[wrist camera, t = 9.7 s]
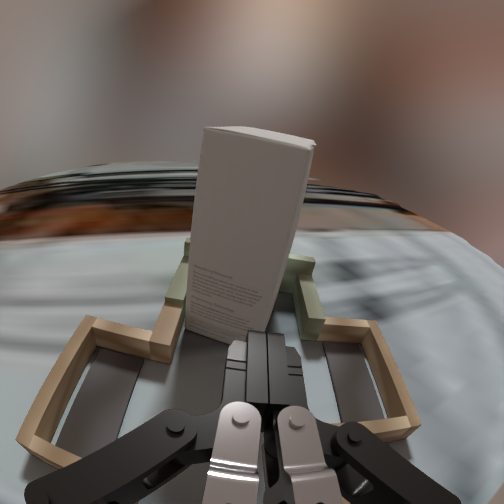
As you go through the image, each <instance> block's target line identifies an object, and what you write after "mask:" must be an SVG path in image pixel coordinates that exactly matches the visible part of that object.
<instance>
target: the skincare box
mask: <svg viewBox="0 0 504 504" xmlns="http://www.w3.org/2000/svg"><path fill="white" fill-rule="evenodd" d="M314 146H316V144H315V142H314V141H313V140H310V139H305V138H302V137H297V136H292V135H288V134H283V133H278V132H273V131H268V130H263V129H257V128H251V127H241V126H239V127H205V128H204V134H203V141H202V148H201V154H200V161H199V168H198V176H197V184H196V192H195V200H194V209H193V218H192V228H191V238H190V250H189V262H188V275H187V290H186V308H185V329H187V330H189V331H192V332H195V333H197V334H200V335H203V336H206V337H209V338H212V339H215V340H218V341H221V342H224V343H227V344H230V345H231V344H232V343H233V341H234V340H236V341H244V342H245V340H246V336H247V332H248V330H254V331H262V332H265V329H266V327H267V324H268V321H269V319H270V316H271V313H272V310H273V307H274V304H275V301H276V298H277V294H278V291H279V288H280V284H281V281H282V278H283V274H284V271H285V267H286V264H287V260H288V257H289V253H290V250H291V246H292V243H293V239H294V235H295V232H296V228H297V224H298V220H299V216H300V212H301V208H302V204H303V200H304V195H305V191H306V186H307V181H308V176H309V172H310V167H311V162H312V157H313V152H314Z"/></svg>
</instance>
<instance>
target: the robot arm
mask: <svg viewBox="0 0 504 504" xmlns="http://www.w3.org/2000/svg"><path fill="white" fill-rule="evenodd" d="M260 432H264V442H263V444H262V447H261V451H262V461H263V472H264V482H265V492H264V497H263V504H343V501H342V497H343V498H344V499H346V500H347V501H348V502H349V503H350V504H461V501H460V499H459V498H458V497H457V496H455V495H454V494H452V493H451V492H449V491H448V490H447V489H445V488H444V487H442V486H441V485H439V484H438V483H437V482H435V481H434V480H433V479H431V478H430V477H428V476H427V475H426V474H424V473H423V472H422V471H420V470H419V469H418V468H416V467H415V466H414V465H412V464H411V463H410V462H409V461H407V460H406V459H405V458H403V457H402V456H401V455H400V454H398V453H397V452H396V451H394V450H393V449H392V448H391V447H389V446H388V445H387V444H386V443H384V442H383V441H382V440H381V439H380V438H378V437H377V436H376V435H375V434H373V433H372V432H371V431H370V430H369V429H367V428H366V427H365V426H364V425H362V424H360V423H358V422H346V423H344V424H342V425H341V426H336V425H332V424H328V423H325V422H322V421H320V420H318V419H316V418H315V417H314V415H313V414H312V413H311V412H310V411H309V409H308V405H307V399H306V391H305V384H304V378H303V371H302V364H301V357H300V355H299V354H298V352H297V351H296V349H295V348H294V347H287V346H285V337H284V334H279V333H270V332H262V331H254V330H248V332H247V336H246V340H245V342H244V341H236V340H234V341H233V343H232V344H231V345H230V347H229V348H228V353H227V359H226V365H225V370H224V379H223V389H222V397H221V405H220V406H219V408H218V409H216V410H215V411H213V412H211V413H209V414H204V415H196V416H192V415H190V414H189V413H187V412H186V411H183V410H180V409H169V410H165V411H163V412H161V413H160V414H158V415H157V416H155V417H154V418H152V419H150V420H149V421H147V422H146V423H144V424H142V425H141V426H139V427H137V428H136V429H134V430H132V431H131V432H129V433H127V434H125V435H124V436H122V437H120V438H119V439H117V440H115V441H113V442H112V443H110V444H108V445H106V446H104V447H102V448H101V449H99V450H97V451H95V452H93V453H91V454H89V455H87V456H86V457H84V458H82V459H80V460H78V461H76V462H74V463H72V464H70V465H68V466H66V467H63V468H61V469H59V470H57V471H55V472H53V473H51V474H48V475H46V476H44V477H42V478H39V479H37V480H35V481H32V482H30V483H29V484H28V485H27V486H26V488H25V492H24V497H25V501H26V504H134V503H136V502H137V501H139V500H141V499H142V498H144V497H146V496H147V495H149V494H150V493H152V492H153V491H155V490H156V489H158V488H159V487H161V486H162V485H164V484H165V483H167V482H168V481H170V480H171V479H173V478H174V477H175V476H177V475H178V474H180V473H181V472H182V471H184V470H185V469H186V468H188V467H189V466H190V465H192V464H197V463H204V462H210V466H209V471H208V476H207V481H206V486H205V491H204V496H203V501H202V504H257V495H258V485H259V474H258V472H257V461H258V451H259V440H260Z"/></svg>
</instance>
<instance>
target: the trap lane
mask: <svg viewBox="0 0 504 504" xmlns="http://www.w3.org/2000/svg"><path fill="white" fill-rule="evenodd" d="M189 250H190V238H187V239H186V241H185V247H184V256H183V259H182V261H181V263H180V265H179V267H178V269H177V271H176V274H175V276H174V278H173V280H172V282H171V285H170V287H169V289H168V291H167V294H166V296H165V303H164V306H163V308H162V310H161V313H160V315H159V318H158V320H157V322H156V325H155V327H154V330H153V331H149V330H145V329H140V328H136V327H131V326H127V325H123V324H119V323H115V322H111V321H107V320H103V319H100V318H96V317H92V316H89V315H86V316H85V318H84V319H83V320H82V322H81V323H80V325H79V326H78V328H77V329H76V331H75V332H74V334H73V336H72V337H71V339H70V340H69V342H68V343H67V345H66V347H65V348H64V350H63V351H62V353H61V355H60V356H59V358H58V360H57V361H56V363H55V365H54V366H53V368H52V370H51V371H50V373H49V375H48V377H47V378H46V380H45V382H44V384H43V385H42V387H41V389H40V391H39V393H38V395H37V397H36V398H35V400H34V402H33V404H32V406H31V408H30V410H29V412H28V414H27V416H26V418H25V420H24V422H23V424H22V427H21V429H20V431H19V433H18V435H17V437H16V441H17V442H18V443H19V444H20V445H21V446H22V447H24V448H25V449H26V450H27V451H28V452H29V453H30V454H32V455H34V456H35V457H37V458H39V459H41V460H43V461H44V462H46V463H48V464H50V465H52V466H54V467H56V468H58V469H61V468H63V467H66V466H68V465H70V464H72V463H74V462H76V461H78V460H80V459H82V458H84V457H86V456H87V455H89V454H91V453H93V452H95V451H97V450H99V449H101V448H102V447H104V446H106V445H108V444H110V443H112V442H113V441H115V440H117V437H118V434H119V431H120V428H121V425H122V422H123V418H124V415H125V412H126V409H127V406H128V403H129V400H130V398H131V395H132V392H133V389H134V386H135V383H136V380H137V378H138V375H139V372H140V369H141V367H142V364H143V361H144V359H142V358H146V359H150V360H155V361H159V362H164V363H169V364H171V362H172V359H173V355H174V352H175V348H176V345H177V341H178V338H179V335H180V331H181V328H182V325H183V321H184V318H185V308H186V290H187V275H188V262H189ZM315 263H316V262H315V260H314V258H313V257H307V256H300V255H294V254H289V257H288V260H287V264H286V267H285V271H284V274H283V278H282V281H281V284H280V288H279V291H280V292H288V293H292V297H293V302H294V307H295V313H296V318H297V324H298V329H299V334H300V339H301V340H313V341H327V342H323V347H324V351H325V355H326V359H327V363H328V367H329V371H330V375H331V379H332V384H333V388H334V392H335V396H336V401H337V405H338V410H339V414H340V419H341V423H336V424H332V425H336V426H341V425H342V424H344V423H346V422H358V423H360V424H362V425H364V426H365V427H366V428H367V429H369V430H370V431H371V432H372V433H373V434H375V435H376V436H377V437H378V438H380V439H381V440H382V441H383V442H384V443H386V442H391V441H396V440H401V439H406V438H407V437H408V436H409V435H411V434H412V433H413V432H414V431H415V430H416V429H417V428H418V427H419V426H421V422H420V419H419V417H418V414H417V412H416V409H415V407H414V404H413V402H412V399H411V397H410V394H409V392H408V390H407V387H406V385H405V383H404V380H403V378H402V376H401V374H400V371H399V369H398V367H397V365H396V362H395V360H394V358H393V356H392V354H391V352H390V349H389V347H388V345H387V343H386V341H385V339H384V337H383V335H382V333H381V331H380V329H379V327H378V325H377V323H376V321H371V320H358V319H346V318H334V317H325V315H324V312H323V308H322V305H321V302H320V299H319V296H318V293H317V290H316V287H315V284H314V281H313V278H312V272H313V269H314V266H315ZM339 342H344V343H339ZM358 343H361V344H362V346H363V349H364V351H365V354H366V357H367V359H368V362H369V365H370V367H371V370H372V373H373V375H374V378H375V381H376V384H377V386H378V389H379V392H380V395H381V398H382V401H383V404H384V406H385V409H386V412H387V415H388V419H385V418H384V415H383V412H382V409H381V406H380V403H379V400H378V397H377V394H376V391H375V388H374V385H373V382H372V379H371V376H370V374H369V371H368V368H367V365H366V363H365V360H364V357H363V355H362V352H361V349H360V347H359V344H358ZM96 346H100V347H104V348H107V349H111V350H114V351H118V352H122V353H126V354H130V355H133V356H138V357H142V358H138V357H133V356H129V355H126V354H122V353H118V352H114V351H111V350H107V349H104V348H100V350H99V352H98V354H97V356H96V358H95V360H94V361H93V363H92V365H91V367H90V369H89V371H88V373H87V375H86V377H85V379H84V381H83V384H82V386H81V388H80V390H79V392H78V394H77V396H76V398H75V400H74V403H73V405H72V407H71V409H70V412H69V414H68V416H67V418H66V421H65V423H64V425H63V428H62V430H61V433H60V435H59V438H58V440H57V443H56V445H53V444H51V443H50V442H51V440H52V437H53V435H54V433H55V430H56V428H57V426H58V423H59V421H60V419H61V416H62V414H63V412H64V410H65V408H66V405H67V403H68V401H69V399H70V397H71V395H72V393H73V391H74V389H75V387H76V385H77V383H78V381H79V379H80V377H81V375H82V373H83V371H84V369H85V367H86V365H87V363H88V361H89V359H90V357H91V355H92V354H93V352H94V350H95V348H96ZM342 501H343V504H350V503H349V502H348V501H347V500H346V499H344V498H343V497H342ZM137 503H138V501H137V502H136V503H134V504H137Z"/></svg>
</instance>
